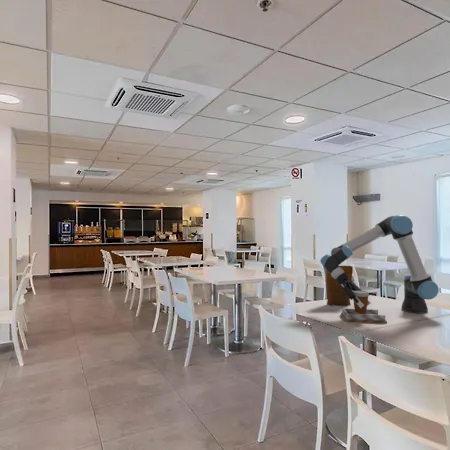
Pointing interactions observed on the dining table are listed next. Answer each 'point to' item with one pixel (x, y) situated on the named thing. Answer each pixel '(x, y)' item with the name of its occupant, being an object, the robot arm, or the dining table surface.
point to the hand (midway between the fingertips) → (365, 305)
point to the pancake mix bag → (337, 289)
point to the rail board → (363, 316)
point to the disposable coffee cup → (363, 298)
